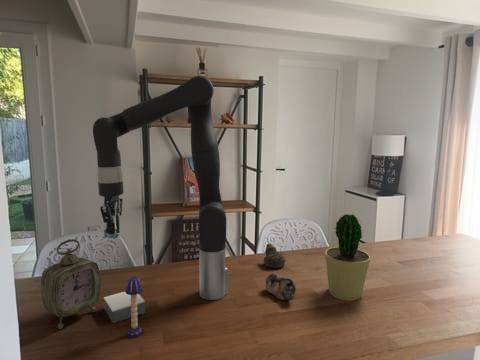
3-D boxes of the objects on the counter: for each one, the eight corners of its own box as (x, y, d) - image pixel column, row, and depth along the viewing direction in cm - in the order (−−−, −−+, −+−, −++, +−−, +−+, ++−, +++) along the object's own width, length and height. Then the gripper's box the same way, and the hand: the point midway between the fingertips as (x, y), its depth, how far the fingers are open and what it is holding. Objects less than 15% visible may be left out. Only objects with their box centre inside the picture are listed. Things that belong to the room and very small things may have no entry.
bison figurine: (266, 288, 124) (258, 299, 114) (267, 269, 123) (259, 279, 113) (298, 294, 119) (292, 306, 110) (299, 275, 119) (293, 286, 109)
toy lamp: (129, 328, 97) (127, 274, 94) (145, 327, 97) (143, 274, 95) (125, 338, 92) (122, 282, 90) (142, 337, 92) (140, 281, 90)
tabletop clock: (57, 334, 94) (51, 250, 90) (40, 324, 98) (33, 243, 95) (102, 311, 106) (98, 236, 102) (85, 303, 111) (80, 231, 107)
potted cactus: (369, 288, 124) (374, 210, 119) (365, 307, 110) (372, 220, 105) (327, 280, 130) (331, 206, 126) (319, 297, 116) (323, 214, 112)
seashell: (282, 245, 151) (260, 246, 150) (288, 239, 141) (265, 239, 140) (284, 271, 147) (262, 271, 145) (291, 266, 136) (267, 266, 135)
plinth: (134, 299, 113) (134, 288, 113) (145, 312, 105) (144, 301, 105) (104, 308, 107) (103, 297, 107) (113, 323, 99) (112, 310, 99)
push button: (126, 236, 110) (125, 207, 109) (115, 241, 105) (113, 210, 104) (111, 234, 112) (109, 205, 111) (99, 238, 107) (97, 208, 106)
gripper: (114, 183, 99) (117, 238, 102) (129, 177, 113) (131, 225, 116) (89, 184, 99) (93, 239, 102) (107, 177, 113) (110, 226, 116)
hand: (113, 231), depth 109 cm, fingers closed on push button, 3 cm apart
